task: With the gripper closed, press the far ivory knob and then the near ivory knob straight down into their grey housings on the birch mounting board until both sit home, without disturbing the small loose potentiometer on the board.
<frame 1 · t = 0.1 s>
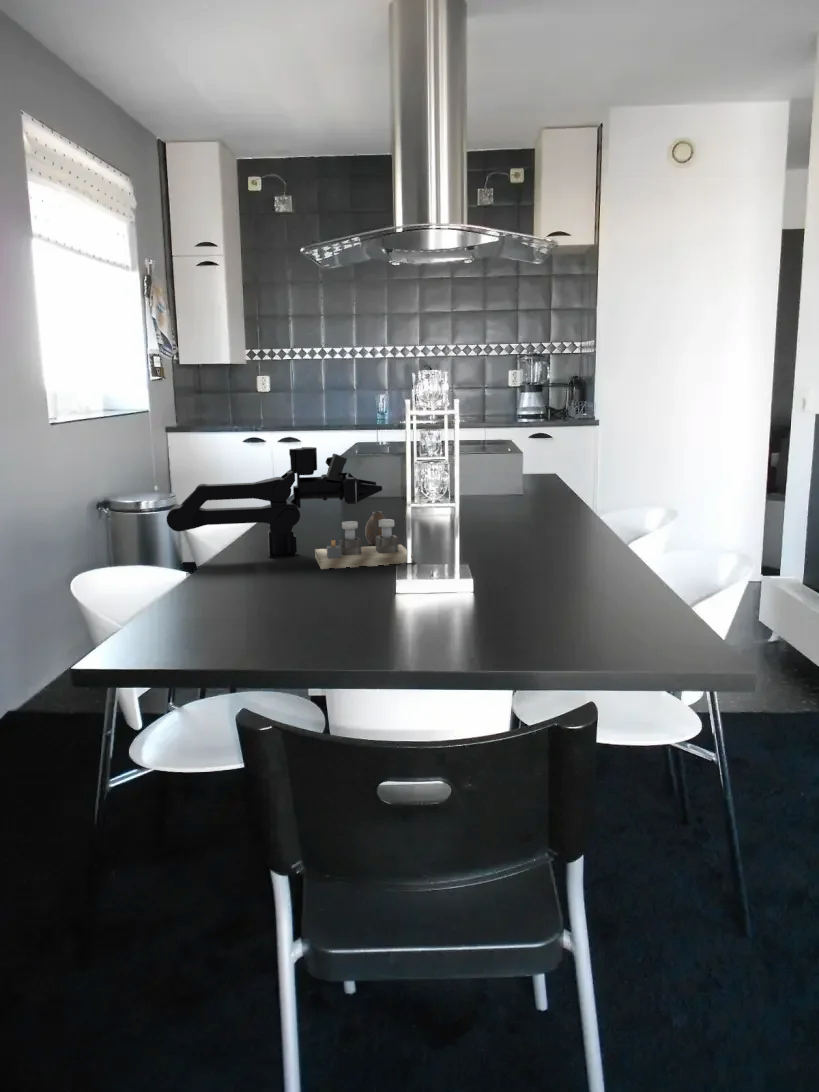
hand: (378, 486, 212), 17 cm above the table, tool horizontal, fingers open, 9 cm apart
knob far: (386, 530, 202), point 7 cm above the table, slide at 0.0 cm
mount board: (363, 560, 202), on the table
vase: (378, 545, 222), on the table
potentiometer: (333, 557, 197), point 2 cm above the table, touching mount board
knob near: (349, 532, 200), point 7 cm above the table, slide at 0.0 cm
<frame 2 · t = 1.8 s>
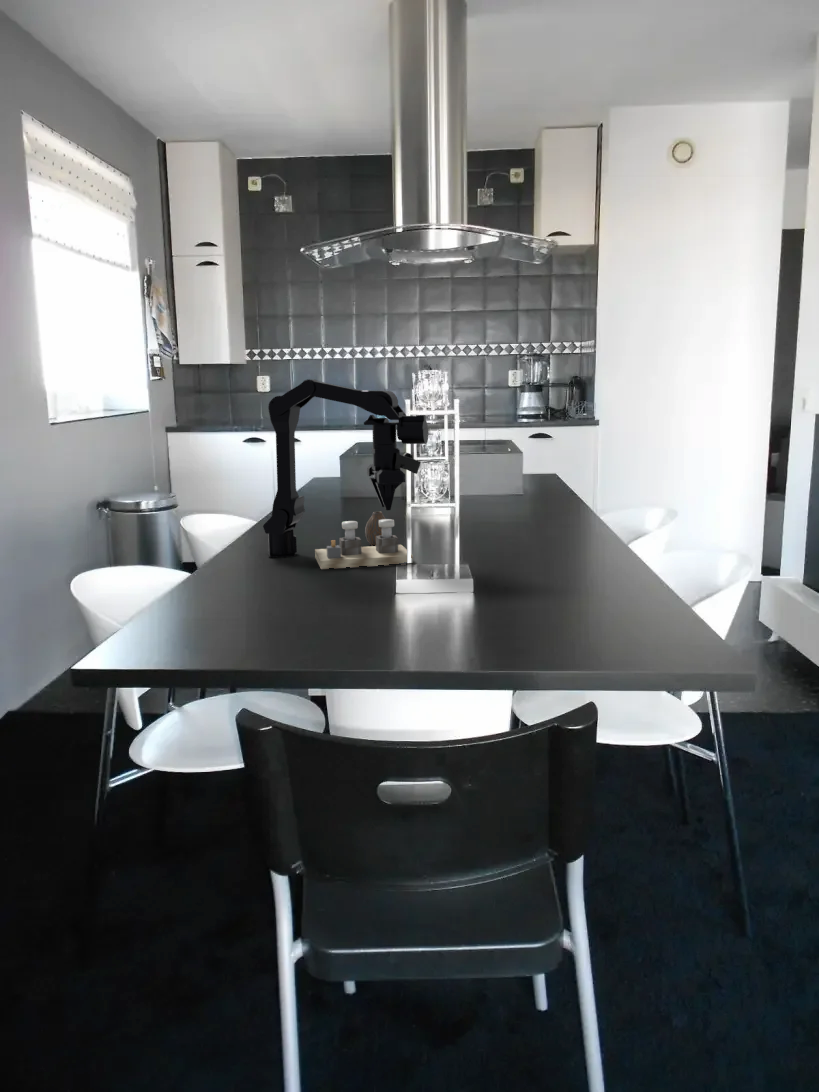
hand: (386, 508, 201), 13 cm above the table, tool pointing down, fingers open, 5 cm apart
nothing on the table moved.
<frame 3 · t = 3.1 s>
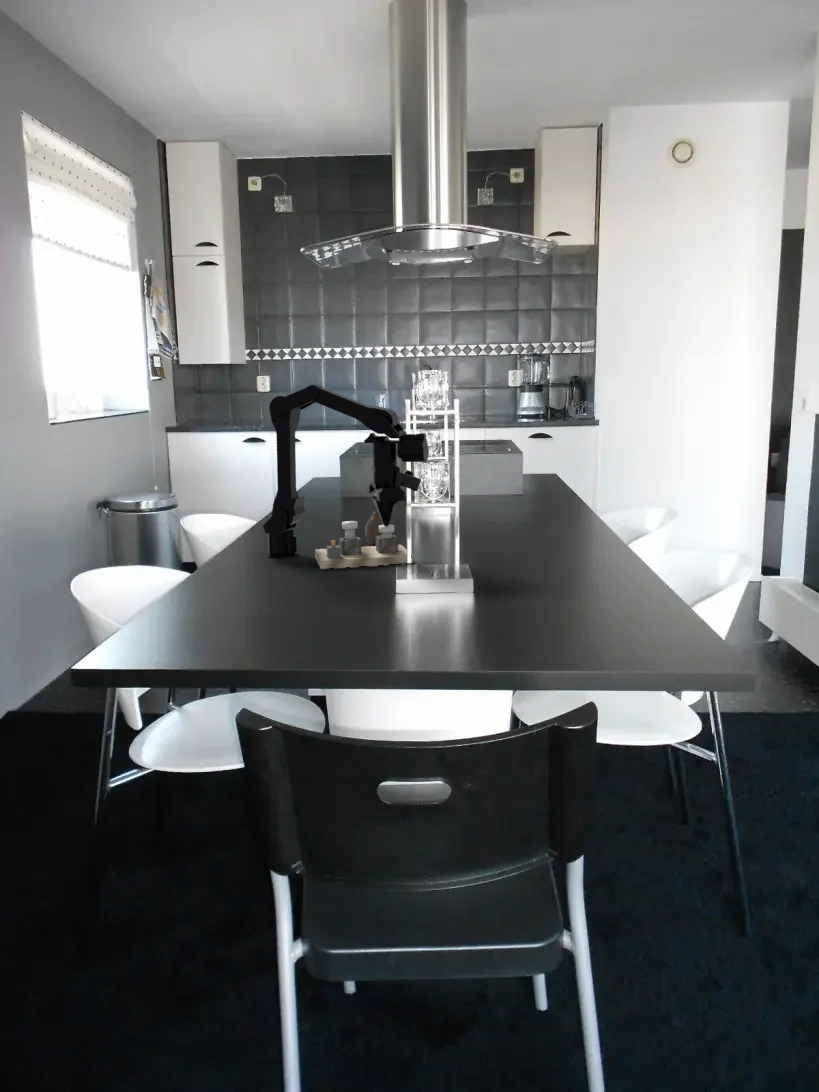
hand: (386, 525, 202), 8 cm above the table, tool pointing down, fingers closed, pressing on knob far
knob far: (386, 535, 202), point 6 cm above the table, slide at 1.3 cm, touching gripper
everything else where it was.
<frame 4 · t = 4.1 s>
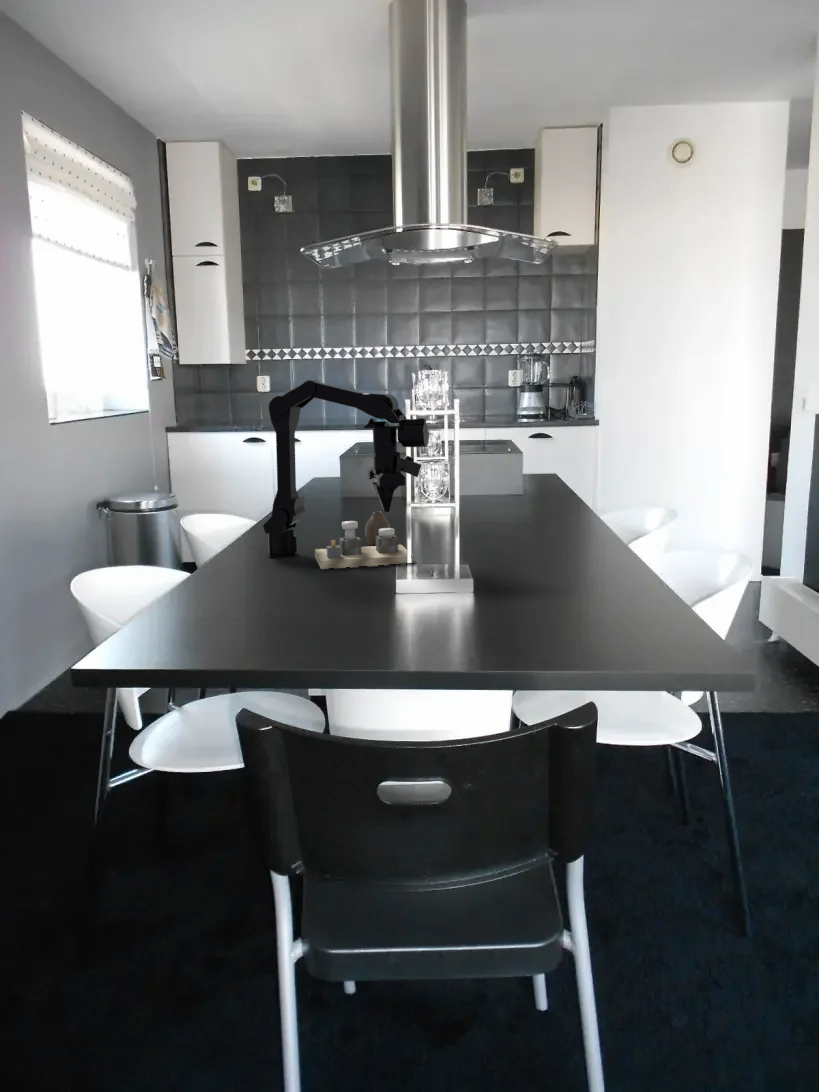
hand: (386, 511, 201), 12 cm above the table, tool pointing down, fingers closed
knob far: (386, 539, 202), point 5 cm above the table, slide at 2.2 cm
everything else where it was.
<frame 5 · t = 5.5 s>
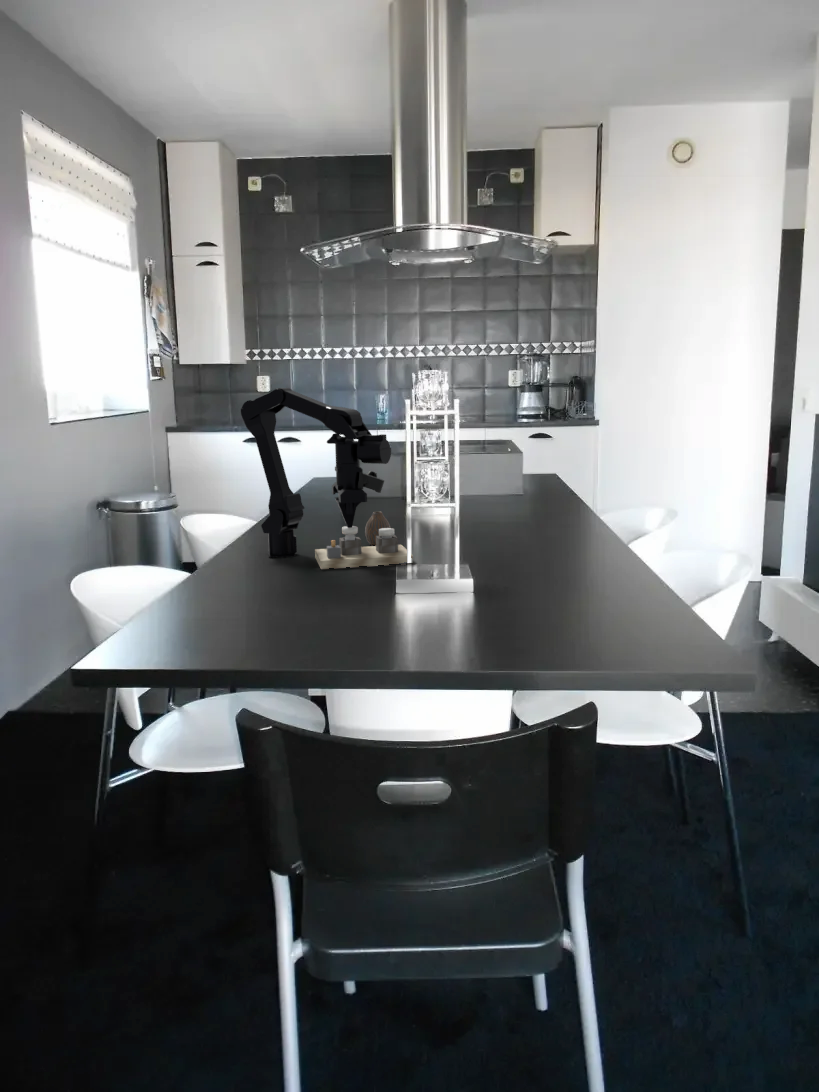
hand: (349, 527, 200), 8 cm above the table, tool pointing down, fingers closed, pressing on knob near
knob near: (350, 537, 200), point 6 cm above the table, slide at 1.3 cm, touching gripper
everything else where it was.
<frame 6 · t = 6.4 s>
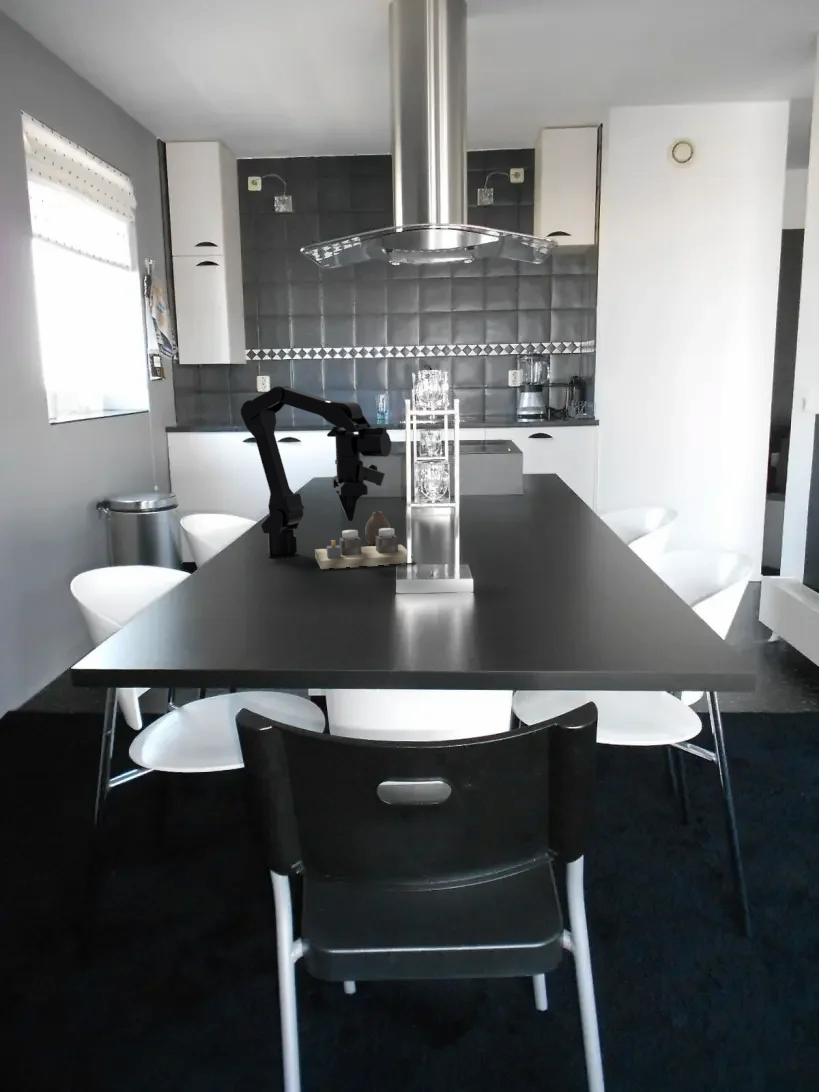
hand: (350, 520, 199), 10 cm above the table, tool pointing down, fingers closed
knob near: (350, 541, 200), point 5 cm above the table, slide at 2.2 cm
everything else where it was.
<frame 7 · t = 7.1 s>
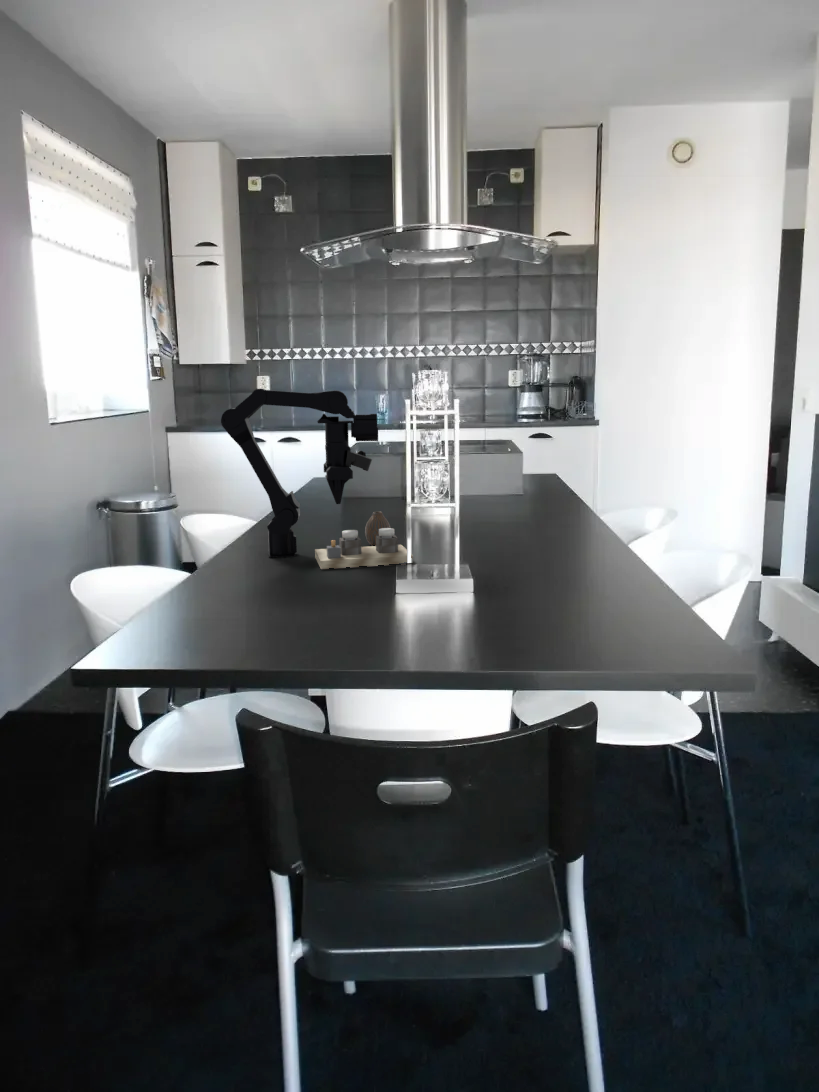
hand: (338, 503, 208), 13 cm above the table, tool pointing down, fingers closed
nothing on the table moved.
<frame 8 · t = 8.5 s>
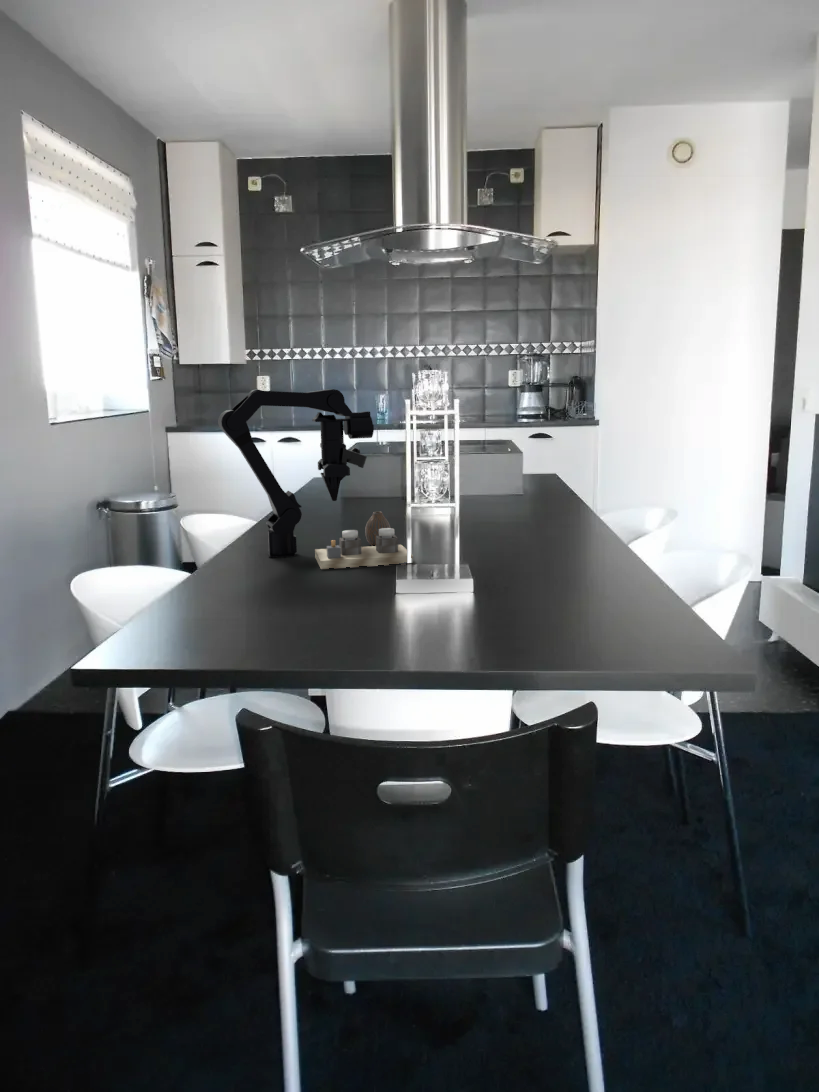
hand: (334, 500, 212), 13 cm above the table, tool pointing down, fingers closed
nothing on the table moved.
at the end: knob far slide at 2.2 cm; knob near slide at 2.2 cm; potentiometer moved 0.0 cm from its start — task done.
